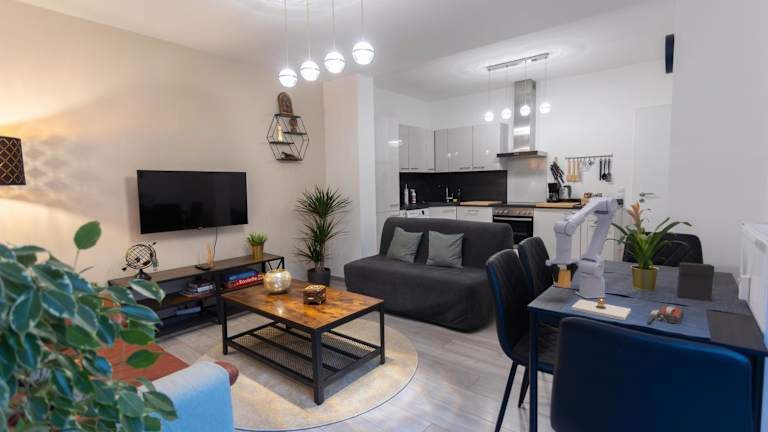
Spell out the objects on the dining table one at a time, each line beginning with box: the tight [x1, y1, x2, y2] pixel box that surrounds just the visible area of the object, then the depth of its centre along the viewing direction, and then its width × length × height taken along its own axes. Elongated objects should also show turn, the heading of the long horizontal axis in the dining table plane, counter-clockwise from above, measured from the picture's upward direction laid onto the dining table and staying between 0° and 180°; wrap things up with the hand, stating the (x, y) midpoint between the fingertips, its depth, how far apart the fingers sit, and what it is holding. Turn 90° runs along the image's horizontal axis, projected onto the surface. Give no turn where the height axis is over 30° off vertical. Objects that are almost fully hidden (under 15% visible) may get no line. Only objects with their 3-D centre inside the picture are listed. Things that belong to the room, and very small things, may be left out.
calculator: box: [676, 262, 715, 301], centre depth 161 cm, size 11×4×15 cm, turn 65°
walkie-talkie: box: [646, 305, 685, 325], centre depth 138 cm, size 9×4×20 cm
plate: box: [570, 297, 632, 322], centre depth 148 cm, size 18×12×5 cm, turn 48°
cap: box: [554, 268, 572, 288], centre depth 158 cm, size 6×6×6 cm
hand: (562, 281), depth 159 cm, fingers closed on cap, 6 cm apart
